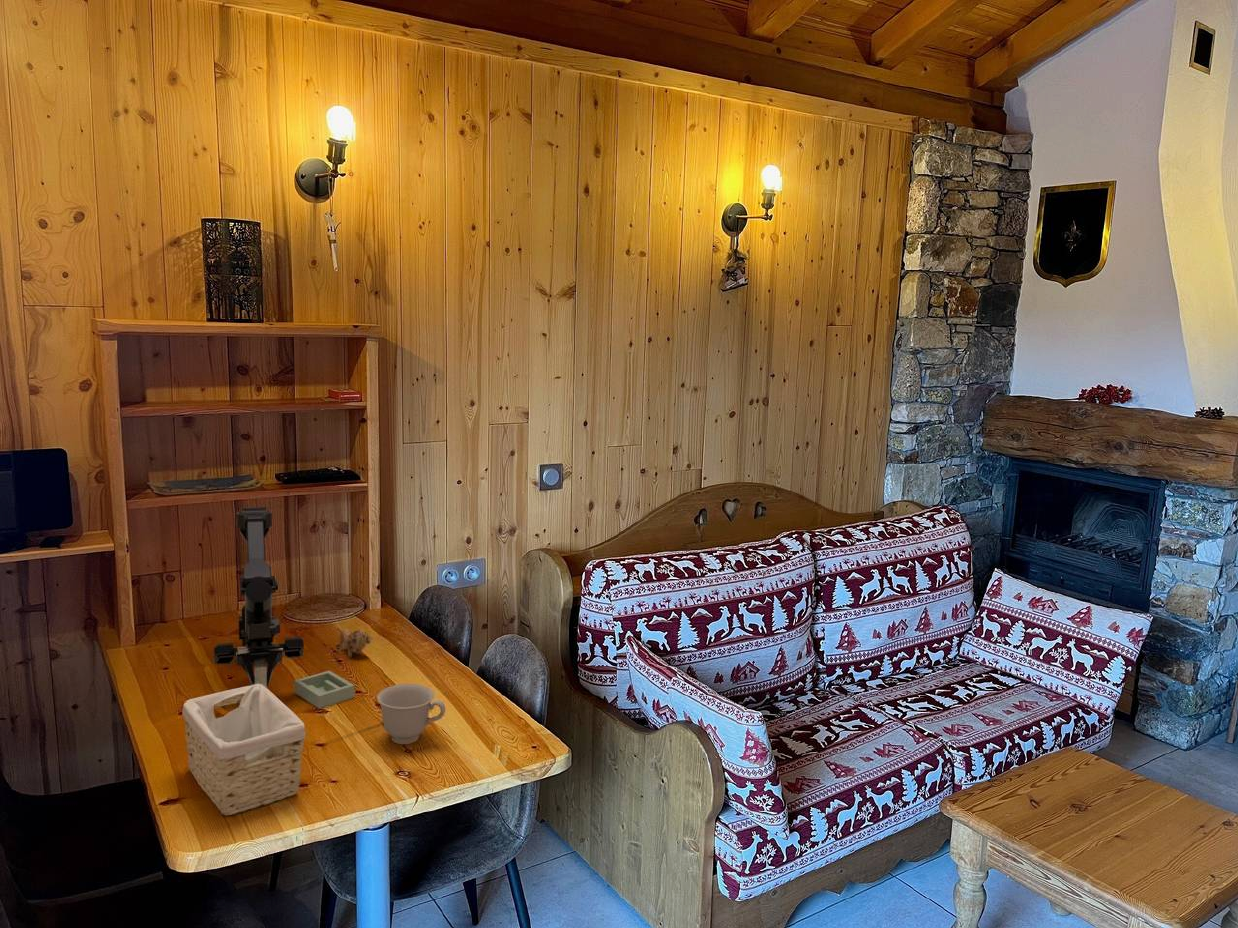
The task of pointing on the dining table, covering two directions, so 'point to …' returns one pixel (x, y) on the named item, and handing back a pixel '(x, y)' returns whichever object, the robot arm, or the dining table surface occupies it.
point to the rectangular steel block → (260, 671)
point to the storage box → (324, 689)
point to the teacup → (407, 711)
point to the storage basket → (244, 748)
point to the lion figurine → (353, 641)
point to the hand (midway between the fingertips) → (260, 686)
